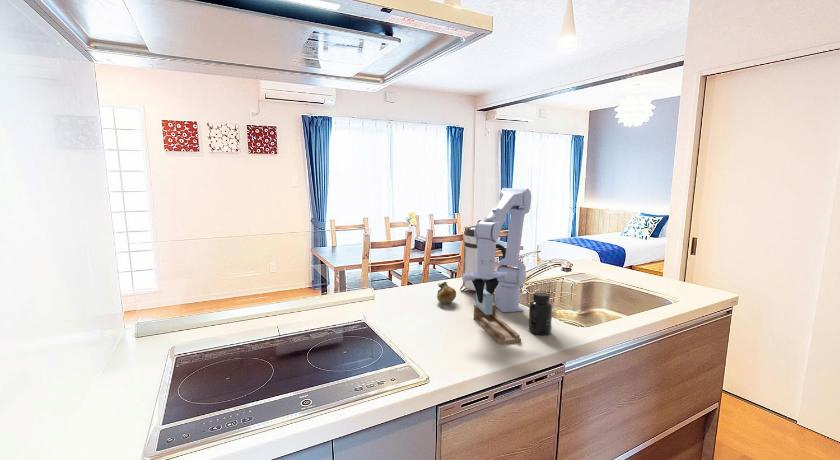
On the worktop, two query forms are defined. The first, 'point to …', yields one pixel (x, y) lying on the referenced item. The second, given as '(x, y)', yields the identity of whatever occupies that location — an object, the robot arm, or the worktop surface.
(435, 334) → the worktop surface
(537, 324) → the supplement bottle
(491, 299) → the light blue flat block
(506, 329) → the door track
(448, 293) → the onion
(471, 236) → the coffee press
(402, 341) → the worktop surface
